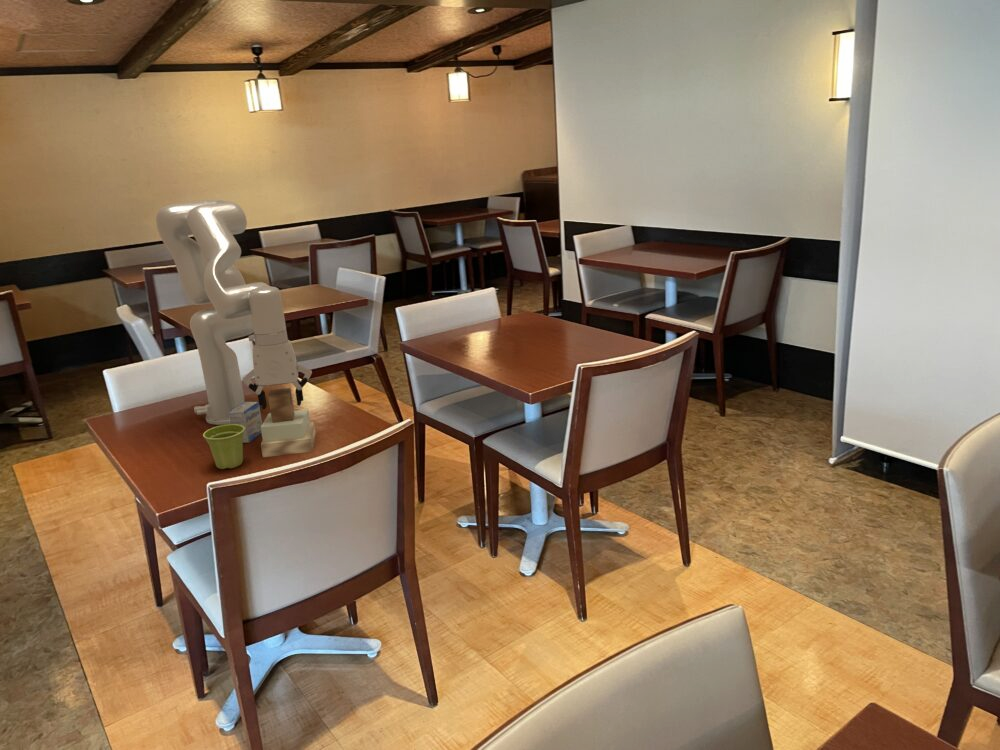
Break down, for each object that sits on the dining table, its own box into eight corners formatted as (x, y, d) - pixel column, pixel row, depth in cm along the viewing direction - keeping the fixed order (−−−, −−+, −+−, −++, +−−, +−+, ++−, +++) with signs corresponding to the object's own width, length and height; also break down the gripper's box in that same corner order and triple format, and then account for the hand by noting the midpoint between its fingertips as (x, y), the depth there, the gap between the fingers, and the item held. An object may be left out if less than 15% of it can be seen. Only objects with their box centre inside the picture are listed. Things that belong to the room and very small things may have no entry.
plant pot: (234, 453, 187) (228, 421, 185) (258, 460, 182) (252, 427, 179) (201, 468, 180) (194, 434, 177) (225, 475, 175) (219, 441, 172)
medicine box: (249, 443, 193) (243, 412, 190) (233, 443, 194) (227, 411, 191) (264, 431, 200) (259, 401, 198) (249, 431, 201) (243, 401, 199)
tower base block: (263, 459, 184) (260, 444, 183) (269, 441, 195) (267, 427, 194) (312, 453, 186) (310, 438, 184) (316, 435, 197) (314, 421, 196)
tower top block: (263, 442, 184) (260, 427, 183) (271, 427, 194) (269, 412, 193) (304, 438, 185) (301, 423, 184) (310, 423, 194) (308, 409, 193)
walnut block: (272, 423, 185) (267, 396, 183) (274, 416, 190) (270, 390, 188) (293, 420, 186) (288, 394, 184) (294, 413, 191) (290, 387, 189)
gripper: (231, 345, 177) (243, 415, 182) (306, 338, 179) (316, 406, 185) (236, 337, 184) (248, 404, 189) (309, 330, 186) (318, 397, 192)
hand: (282, 405), depth 187 cm, fingers open, 8 cm apart
